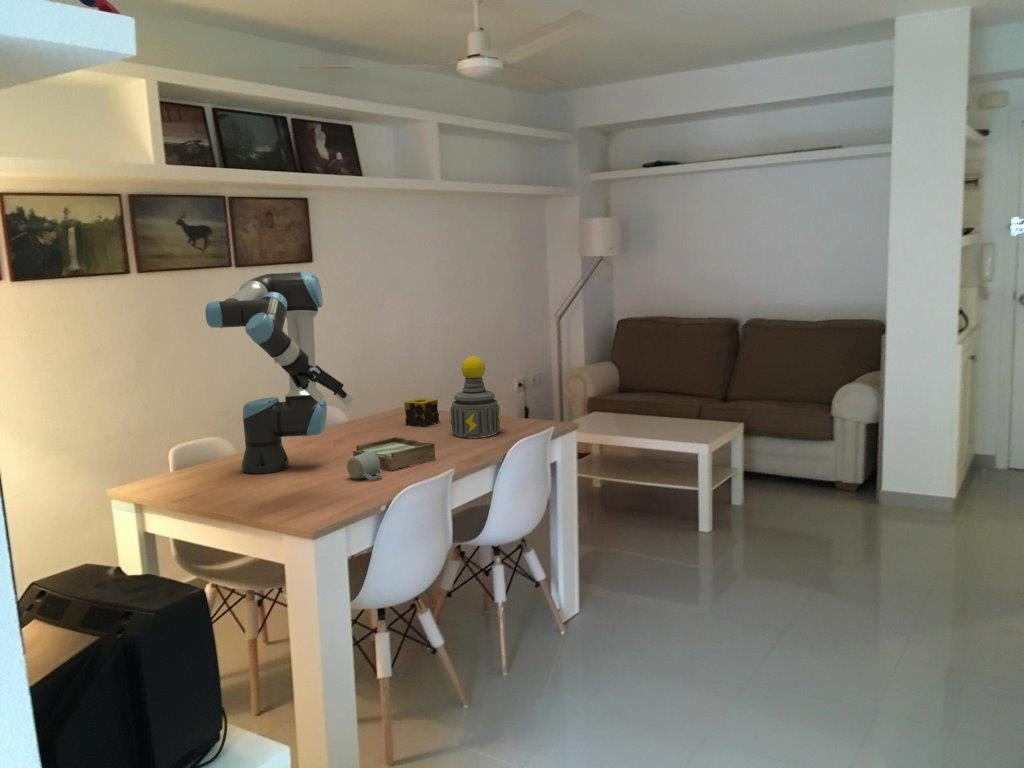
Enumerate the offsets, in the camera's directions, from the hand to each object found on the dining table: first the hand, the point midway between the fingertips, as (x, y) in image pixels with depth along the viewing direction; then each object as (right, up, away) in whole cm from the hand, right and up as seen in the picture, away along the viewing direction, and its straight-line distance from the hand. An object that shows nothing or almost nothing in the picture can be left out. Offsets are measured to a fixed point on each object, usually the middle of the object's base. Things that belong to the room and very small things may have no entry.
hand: (335, 401), depth 254 cm
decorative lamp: (+39, -14, +70) cm, 82 cm away
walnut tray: (+14, -21, +31) cm, 39 cm away
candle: (+17, -12, +92) cm, 94 cm away
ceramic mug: (+8, -24, +10) cm, 28 cm away
